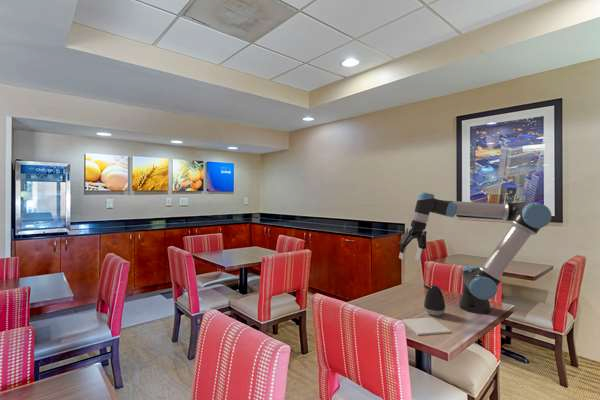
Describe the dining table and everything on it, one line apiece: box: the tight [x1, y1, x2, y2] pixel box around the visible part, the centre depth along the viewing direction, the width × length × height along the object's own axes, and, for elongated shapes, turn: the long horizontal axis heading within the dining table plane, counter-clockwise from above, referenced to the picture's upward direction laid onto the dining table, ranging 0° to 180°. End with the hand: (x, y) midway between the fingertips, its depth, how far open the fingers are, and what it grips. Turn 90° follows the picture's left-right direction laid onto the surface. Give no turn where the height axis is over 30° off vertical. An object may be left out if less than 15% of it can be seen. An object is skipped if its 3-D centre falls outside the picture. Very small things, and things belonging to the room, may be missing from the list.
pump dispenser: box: [423, 284, 446, 317], centre depth 166 cm, size 10×10×15 cm
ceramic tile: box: [401, 317, 452, 336], centre depth 151 cm, size 16×16×1 cm
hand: (409, 259), depth 171 cm, fingers open, 13 cm apart
